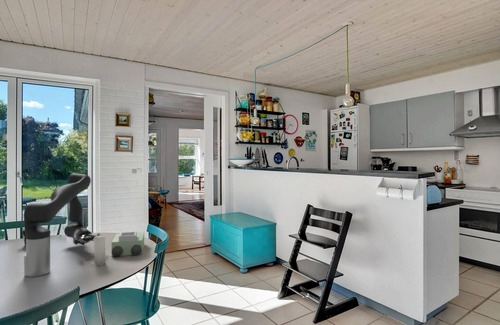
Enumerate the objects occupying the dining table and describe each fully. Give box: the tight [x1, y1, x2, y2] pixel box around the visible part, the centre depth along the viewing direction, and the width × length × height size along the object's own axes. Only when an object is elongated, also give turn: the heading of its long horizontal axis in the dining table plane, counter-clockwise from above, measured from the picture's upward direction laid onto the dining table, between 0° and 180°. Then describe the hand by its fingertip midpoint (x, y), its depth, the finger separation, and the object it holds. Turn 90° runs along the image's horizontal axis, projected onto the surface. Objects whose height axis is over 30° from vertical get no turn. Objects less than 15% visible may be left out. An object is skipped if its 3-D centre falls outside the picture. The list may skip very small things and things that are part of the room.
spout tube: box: [93, 234, 106, 266], centre depth 153 cm, size 5×5×14 cm
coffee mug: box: [22, 228, 26, 247], centre depth 183 cm, size 12×9×10 cm
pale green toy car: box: [111, 231, 145, 258], centre depth 174 cm, size 16×21×11 cm
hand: (92, 241), depth 161 cm, fingers open, 8 cm apart
